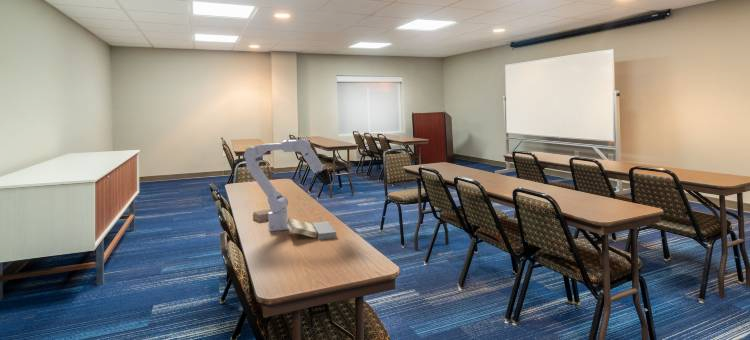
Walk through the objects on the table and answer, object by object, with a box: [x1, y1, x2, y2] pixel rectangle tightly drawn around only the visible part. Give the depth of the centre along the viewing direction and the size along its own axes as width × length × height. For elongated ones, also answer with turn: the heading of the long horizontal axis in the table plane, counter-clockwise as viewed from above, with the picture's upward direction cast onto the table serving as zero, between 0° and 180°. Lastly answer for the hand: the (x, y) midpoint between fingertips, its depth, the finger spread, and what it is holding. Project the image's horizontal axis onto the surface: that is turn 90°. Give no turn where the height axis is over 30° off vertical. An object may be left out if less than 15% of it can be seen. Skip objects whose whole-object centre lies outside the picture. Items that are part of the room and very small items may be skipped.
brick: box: [252, 208, 272, 223], centre depth 237 cm, size 17×8×5 cm, turn 130°
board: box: [311, 220, 337, 240], centre depth 207 cm, size 8×20×3 cm, turn 17°
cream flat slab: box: [287, 217, 317, 239], centre depth 204 cm, size 12×16×2 cm
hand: (328, 184), depth 209 cm, fingers open, 7 cm apart
